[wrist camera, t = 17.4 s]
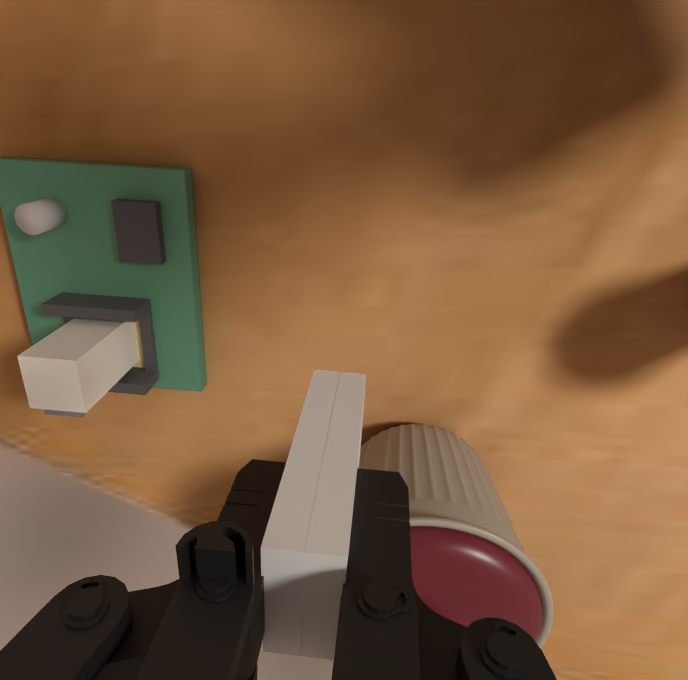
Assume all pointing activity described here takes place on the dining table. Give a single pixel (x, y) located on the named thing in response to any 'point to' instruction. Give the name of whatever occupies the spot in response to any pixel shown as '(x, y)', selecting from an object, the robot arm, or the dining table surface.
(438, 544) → the canister
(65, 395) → the plug
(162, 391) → the dining table surface
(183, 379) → the board
